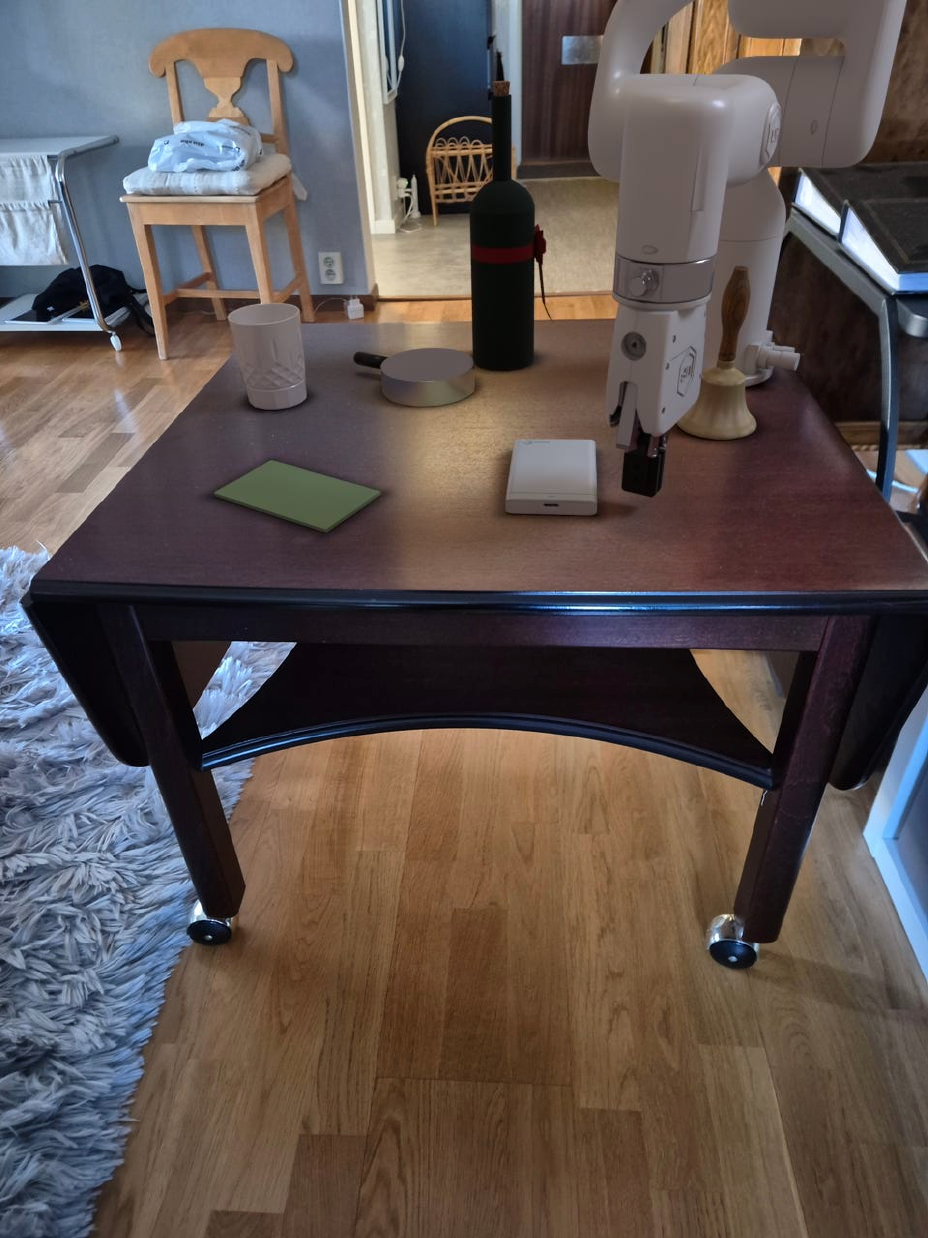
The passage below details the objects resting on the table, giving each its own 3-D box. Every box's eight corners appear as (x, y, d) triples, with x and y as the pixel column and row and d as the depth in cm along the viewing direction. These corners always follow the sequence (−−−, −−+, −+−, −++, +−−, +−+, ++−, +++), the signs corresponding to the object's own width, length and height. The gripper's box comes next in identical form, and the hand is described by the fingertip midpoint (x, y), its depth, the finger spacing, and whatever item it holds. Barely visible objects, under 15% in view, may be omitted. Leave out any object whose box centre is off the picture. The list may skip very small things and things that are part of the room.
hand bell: (770, 421, 90) (800, 263, 80) (731, 447, 85) (758, 283, 76) (701, 402, 95) (722, 250, 85) (660, 426, 90) (678, 269, 80)
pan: (492, 380, 102) (491, 356, 100) (441, 413, 95) (440, 387, 93) (383, 358, 109) (380, 335, 108) (328, 387, 102) (324, 363, 100)
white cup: (319, 386, 103) (307, 302, 97) (302, 412, 96) (288, 324, 90) (256, 386, 103) (240, 302, 97) (236, 412, 97) (217, 324, 91)
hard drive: (513, 438, 85) (505, 497, 75) (595, 439, 84) (597, 499, 74) (513, 453, 86) (505, 513, 76) (594, 454, 85) (596, 515, 75)
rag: (381, 495, 80) (380, 491, 80) (326, 533, 75) (325, 529, 74) (271, 463, 86) (271, 459, 86) (214, 496, 81) (213, 492, 81)
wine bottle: (557, 367, 105) (567, 81, 87) (476, 373, 104) (468, 86, 86) (545, 345, 111) (551, 75, 93) (469, 351, 110) (460, 80, 92)
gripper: (673, 310, 58) (648, 539, 69) (741, 259, 68) (710, 466, 79) (575, 296, 61) (565, 516, 72) (653, 250, 71) (635, 449, 82)
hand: (641, 490), depth 76 cm, fingers closed
